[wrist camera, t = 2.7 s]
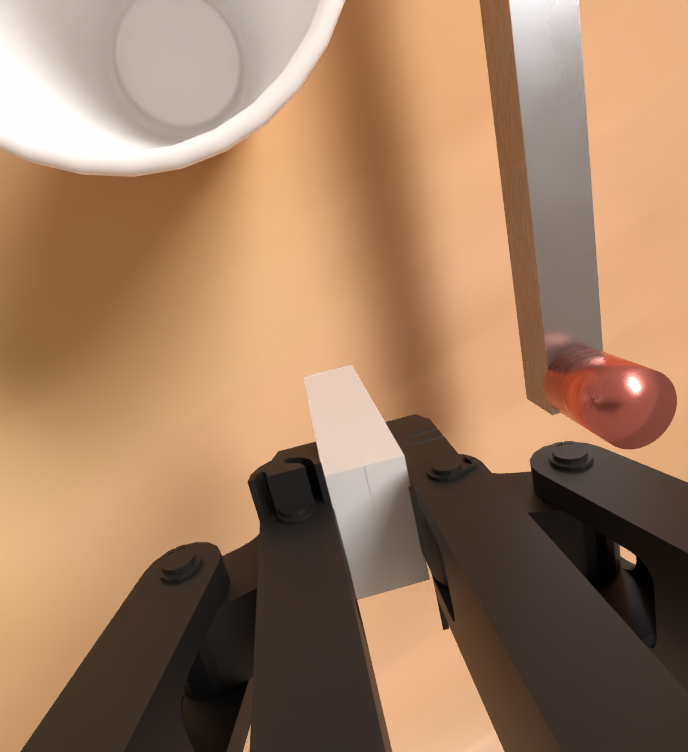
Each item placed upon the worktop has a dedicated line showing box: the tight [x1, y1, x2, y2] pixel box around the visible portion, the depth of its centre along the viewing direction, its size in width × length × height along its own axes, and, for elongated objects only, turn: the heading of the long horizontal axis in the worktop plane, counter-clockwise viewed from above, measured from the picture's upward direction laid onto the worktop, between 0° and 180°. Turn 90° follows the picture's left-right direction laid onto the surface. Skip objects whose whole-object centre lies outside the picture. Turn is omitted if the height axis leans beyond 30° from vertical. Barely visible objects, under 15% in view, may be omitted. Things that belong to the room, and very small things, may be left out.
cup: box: [0, 0, 345, 177], centre depth 14 cm, size 10×10×11 cm
